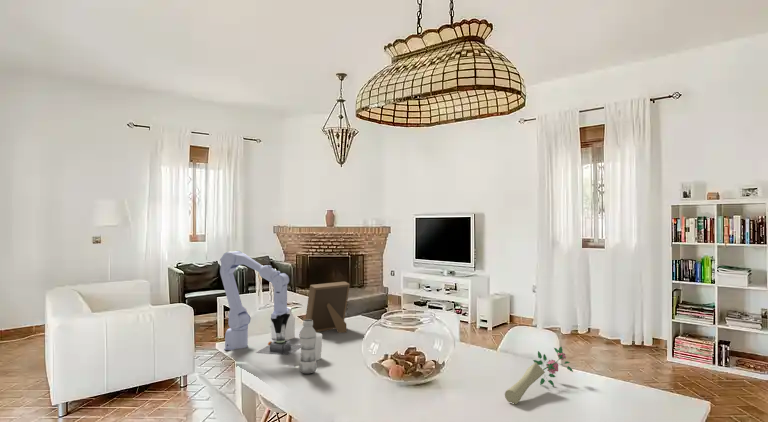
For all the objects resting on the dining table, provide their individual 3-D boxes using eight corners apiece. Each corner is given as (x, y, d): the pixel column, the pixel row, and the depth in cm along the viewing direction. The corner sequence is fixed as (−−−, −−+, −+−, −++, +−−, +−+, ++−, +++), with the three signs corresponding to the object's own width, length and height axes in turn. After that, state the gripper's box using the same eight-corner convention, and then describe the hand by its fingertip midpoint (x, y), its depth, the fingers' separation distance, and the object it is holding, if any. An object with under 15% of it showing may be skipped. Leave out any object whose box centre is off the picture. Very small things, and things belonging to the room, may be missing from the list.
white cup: (320, 361, 200) (320, 337, 201) (301, 361, 201) (301, 337, 201) (323, 355, 208) (323, 332, 208) (305, 355, 208) (305, 332, 209)
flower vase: (505, 422, 159) (548, 373, 184) (538, 422, 150) (578, 371, 176) (492, 388, 159) (536, 344, 185) (524, 386, 151) (566, 340, 177)
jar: (267, 339, 235) (267, 308, 236) (280, 335, 244) (281, 305, 244) (284, 342, 229) (285, 311, 230) (298, 338, 238) (298, 307, 238)
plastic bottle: (313, 376, 182) (313, 322, 182) (296, 374, 183) (296, 322, 184) (319, 370, 188) (319, 319, 188) (302, 369, 190) (302, 318, 190)
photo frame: (303, 331, 251) (304, 283, 251) (338, 325, 265) (339, 280, 265) (319, 337, 240) (319, 287, 240) (354, 331, 253) (355, 283, 253)
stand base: (255, 355, 209) (255, 344, 209) (271, 345, 225) (271, 335, 225) (289, 357, 206) (289, 346, 206) (304, 347, 221) (304, 337, 221)
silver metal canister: (274, 343, 214) (274, 325, 214) (278, 341, 218) (278, 323, 218) (282, 344, 213) (282, 325, 213) (286, 341, 217) (286, 323, 217)
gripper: (281, 304, 208) (281, 336, 207) (295, 298, 222) (295, 328, 222) (266, 303, 209) (266, 335, 209) (281, 298, 223) (281, 327, 223)
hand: (280, 331), depth 215 cm, fingers closed on silver metal canister, 4 cm apart
